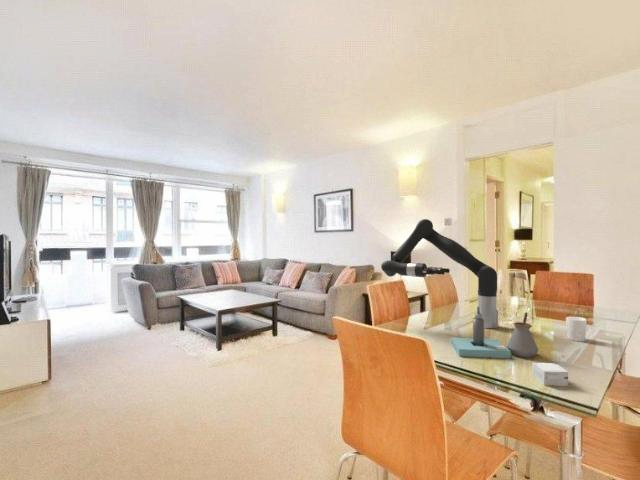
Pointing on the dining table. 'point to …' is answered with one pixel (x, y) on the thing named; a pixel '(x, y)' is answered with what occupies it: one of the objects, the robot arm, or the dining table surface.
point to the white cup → (576, 328)
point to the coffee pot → (522, 340)
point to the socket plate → (480, 348)
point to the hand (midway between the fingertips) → (446, 271)
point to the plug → (478, 329)
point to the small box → (550, 374)
